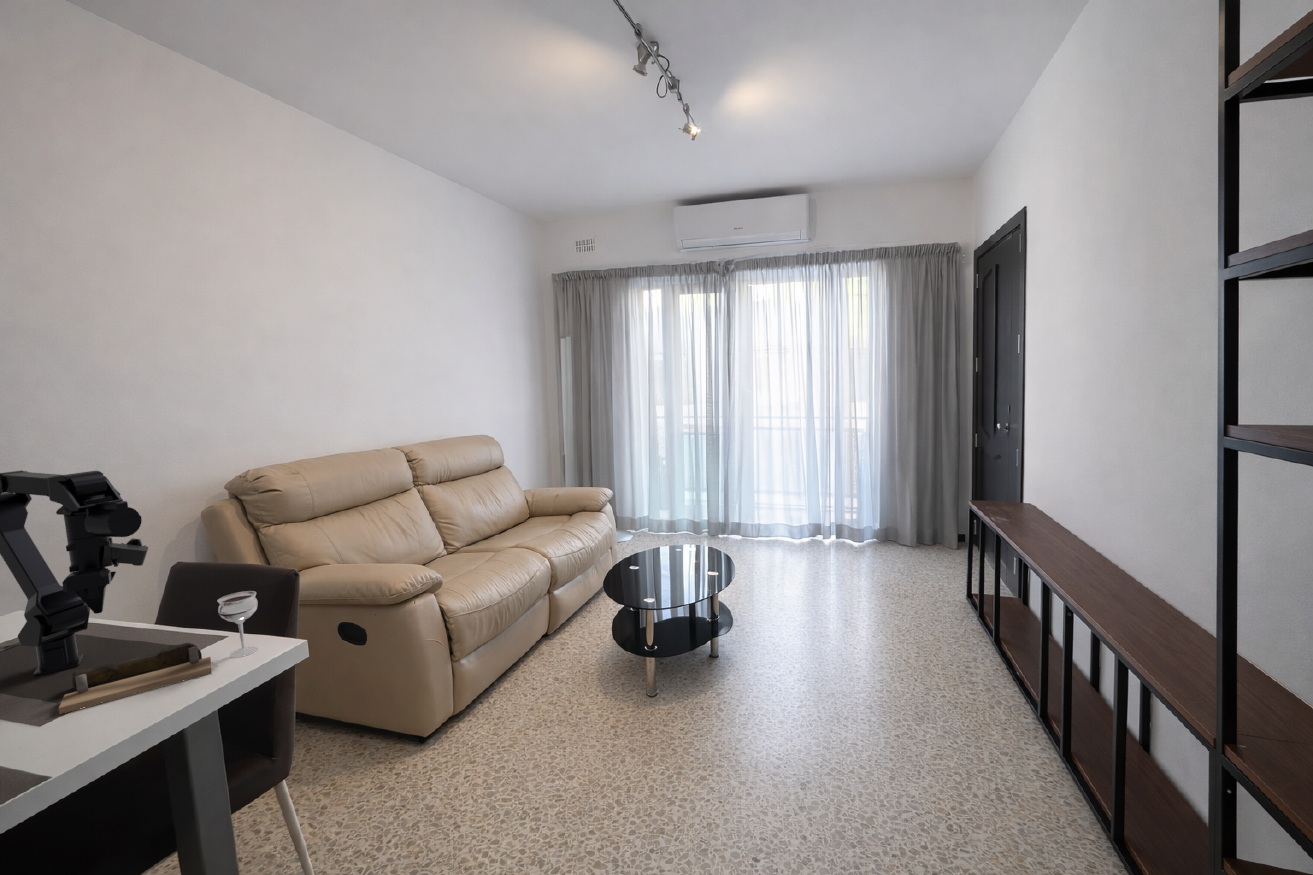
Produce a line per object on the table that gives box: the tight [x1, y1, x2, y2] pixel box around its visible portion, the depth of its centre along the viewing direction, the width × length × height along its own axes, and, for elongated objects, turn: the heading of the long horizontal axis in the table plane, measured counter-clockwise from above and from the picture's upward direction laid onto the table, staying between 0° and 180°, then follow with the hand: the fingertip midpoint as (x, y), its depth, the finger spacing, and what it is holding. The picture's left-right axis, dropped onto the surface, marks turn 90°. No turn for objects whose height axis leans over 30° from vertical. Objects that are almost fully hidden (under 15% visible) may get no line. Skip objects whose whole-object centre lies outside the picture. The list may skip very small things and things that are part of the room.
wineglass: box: [216, 590, 259, 659], centre depth 122 cm, size 7×7×12 cm
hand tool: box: [71, 642, 203, 692], centre depth 114 cm, size 19×4×5 cm, turn 119°
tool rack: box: [58, 645, 212, 715], centre depth 109 cm, size 6×21×4 cm, turn 128°
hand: (98, 612), depth 115 cm, fingers closed
